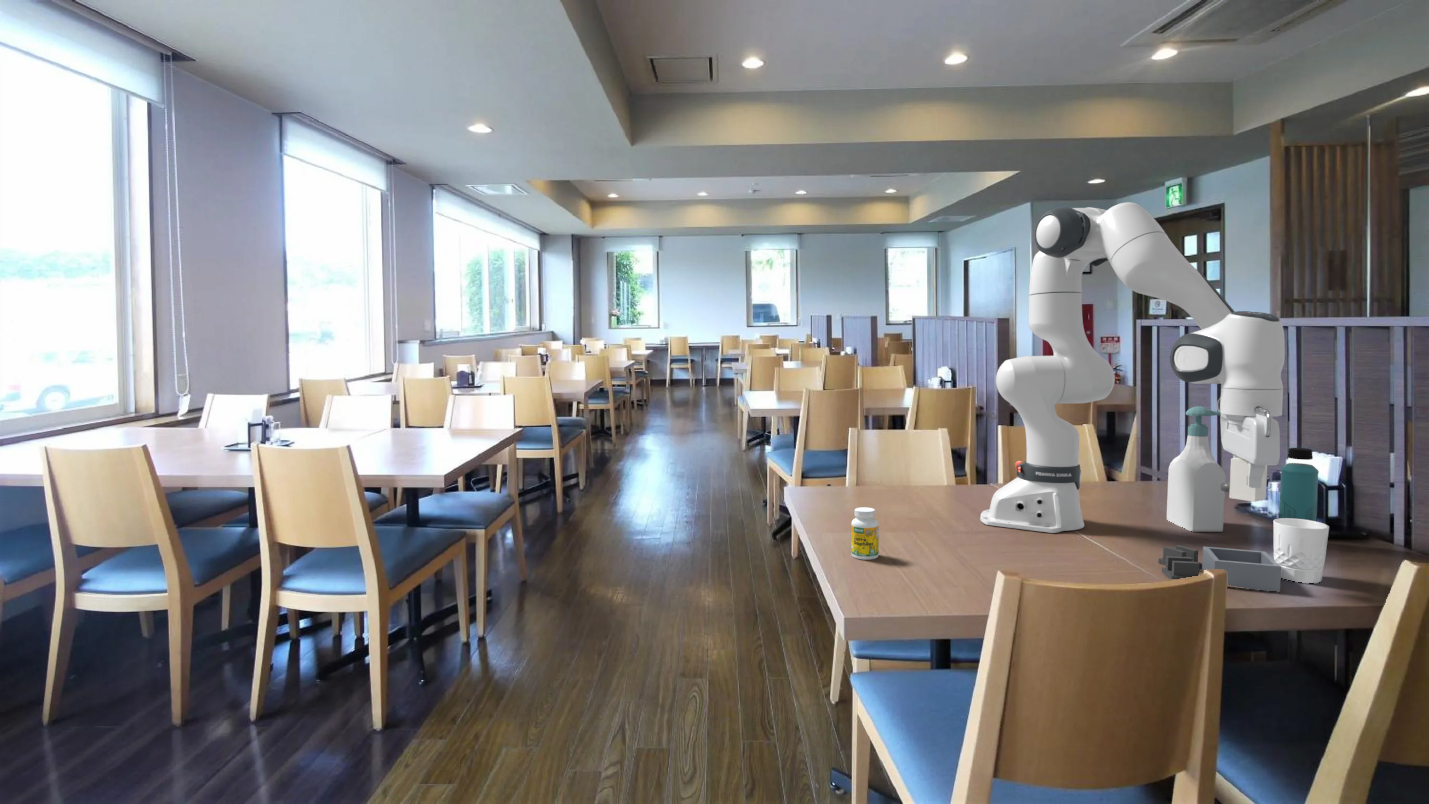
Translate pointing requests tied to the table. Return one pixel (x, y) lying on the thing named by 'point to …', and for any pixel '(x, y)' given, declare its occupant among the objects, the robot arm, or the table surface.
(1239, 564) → the gray square tray
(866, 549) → the supplement bottle
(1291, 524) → the white cup
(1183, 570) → the clip
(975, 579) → the table surface
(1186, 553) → the clip
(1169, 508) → the soap bottle
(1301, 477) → the beverage bottle
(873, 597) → the table surface
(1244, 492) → the block
